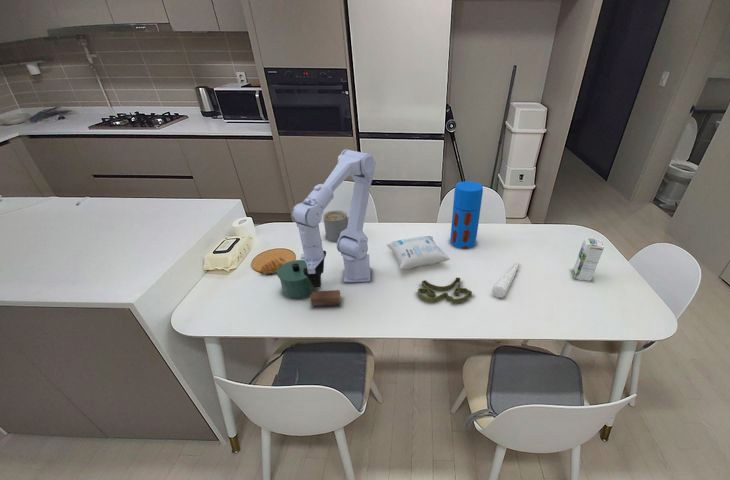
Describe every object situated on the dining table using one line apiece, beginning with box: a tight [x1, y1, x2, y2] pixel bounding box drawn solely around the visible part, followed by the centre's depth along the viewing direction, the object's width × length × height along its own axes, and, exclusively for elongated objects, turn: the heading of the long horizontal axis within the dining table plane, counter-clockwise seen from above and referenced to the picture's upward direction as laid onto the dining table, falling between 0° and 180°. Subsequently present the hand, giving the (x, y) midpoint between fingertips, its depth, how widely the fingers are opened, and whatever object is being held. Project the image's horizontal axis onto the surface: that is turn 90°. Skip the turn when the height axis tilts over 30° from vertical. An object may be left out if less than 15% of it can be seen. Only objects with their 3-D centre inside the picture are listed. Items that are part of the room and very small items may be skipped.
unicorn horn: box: [491, 263, 519, 299], centre depth 126 cm, size 5×24×5 cm, turn 146°
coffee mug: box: [322, 209, 349, 243], centre depth 151 cm, size 13×10×10 cm
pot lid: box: [276, 259, 308, 282], centre depth 118 cm, size 13×13×3 cm
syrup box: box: [572, 237, 605, 282], centre depth 126 cm, size 6×6×14 cm
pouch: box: [385, 235, 451, 270], centre depth 136 cm, size 8×19×20 cm
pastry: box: [260, 256, 287, 275], centre depth 131 cm, size 9×7×4 cm
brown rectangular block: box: [310, 289, 341, 309], centre depth 116 cm, size 9×4×4 cm, turn 95°
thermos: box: [450, 180, 484, 250], centre depth 142 cm, size 11×11×25 cm
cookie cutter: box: [417, 277, 473, 305], centre depth 121 cm, size 18×12×2 cm, turn 98°
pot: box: [279, 278, 318, 300], centre depth 121 cm, size 12×12×8 cm
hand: (318, 279), depth 112 cm, fingers open, 7 cm apart
